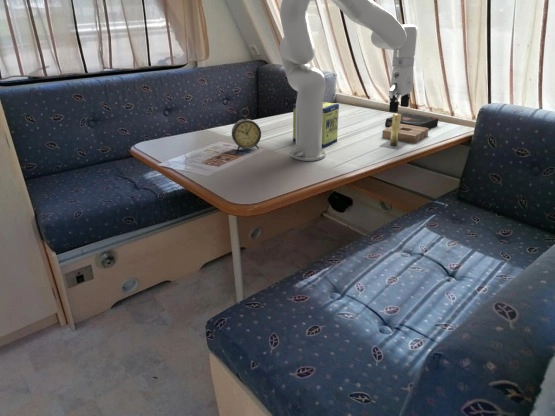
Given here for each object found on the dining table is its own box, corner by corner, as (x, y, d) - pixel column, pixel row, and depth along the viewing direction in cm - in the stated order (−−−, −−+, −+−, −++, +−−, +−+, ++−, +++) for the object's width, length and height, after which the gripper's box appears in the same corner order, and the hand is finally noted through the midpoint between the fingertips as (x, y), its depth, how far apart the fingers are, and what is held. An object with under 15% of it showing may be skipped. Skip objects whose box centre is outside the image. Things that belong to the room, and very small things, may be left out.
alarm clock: (234, 153, 158) (231, 110, 150) (232, 148, 162) (229, 107, 155) (262, 150, 160) (260, 108, 153) (258, 146, 165) (257, 105, 158)
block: (414, 144, 163) (415, 135, 161) (381, 138, 171) (382, 130, 169) (427, 136, 172) (428, 128, 171) (396, 131, 180) (397, 123, 179)
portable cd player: (384, 127, 188) (385, 119, 186) (405, 120, 198) (406, 112, 196) (416, 134, 176) (417, 125, 175) (437, 127, 187) (438, 118, 185)
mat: (397, 150, 156) (397, 149, 156) (378, 146, 161) (378, 146, 161) (408, 144, 163) (408, 143, 163) (389, 140, 168) (389, 140, 168)
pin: (395, 146, 160) (399, 115, 155) (388, 145, 162) (391, 114, 156) (398, 144, 162) (402, 114, 157) (391, 143, 164) (395, 113, 159)
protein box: (324, 148, 161) (326, 108, 154) (292, 141, 169) (292, 104, 162) (338, 141, 168) (339, 103, 161) (306, 136, 177) (306, 99, 170)
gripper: (402, 65, 140) (398, 115, 148) (422, 59, 152) (417, 105, 160) (382, 64, 145) (379, 113, 152) (403, 58, 156) (399, 103, 164)
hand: (399, 109), depth 156 cm, fingers open, 9 cm apart
